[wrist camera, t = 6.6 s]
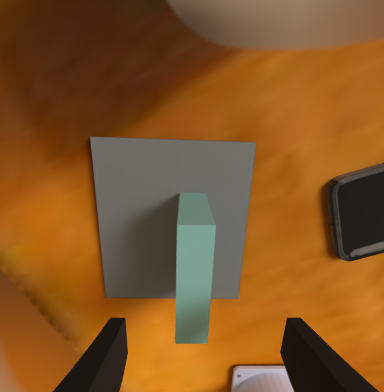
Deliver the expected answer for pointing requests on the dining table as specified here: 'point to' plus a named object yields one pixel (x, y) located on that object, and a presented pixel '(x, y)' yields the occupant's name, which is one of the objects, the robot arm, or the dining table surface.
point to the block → (194, 268)
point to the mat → (168, 210)
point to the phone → (357, 213)
